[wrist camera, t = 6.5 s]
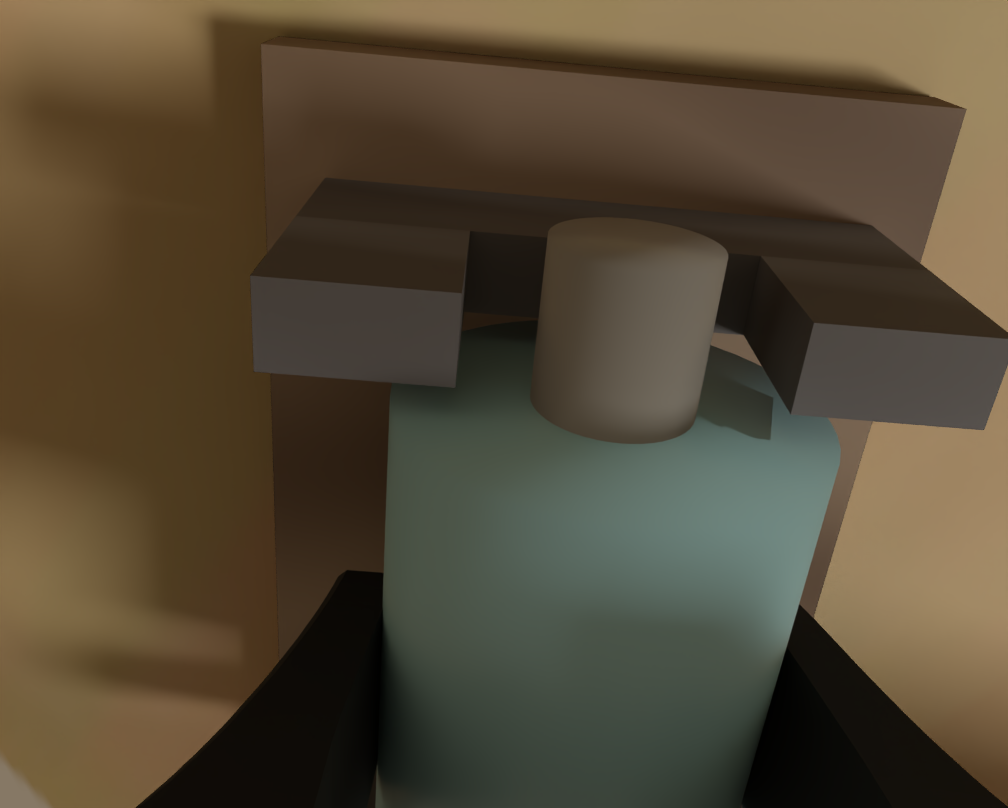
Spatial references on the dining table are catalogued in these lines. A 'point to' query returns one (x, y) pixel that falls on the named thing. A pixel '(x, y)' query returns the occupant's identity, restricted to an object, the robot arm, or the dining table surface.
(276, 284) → the holder
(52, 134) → the dining table surface
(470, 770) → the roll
